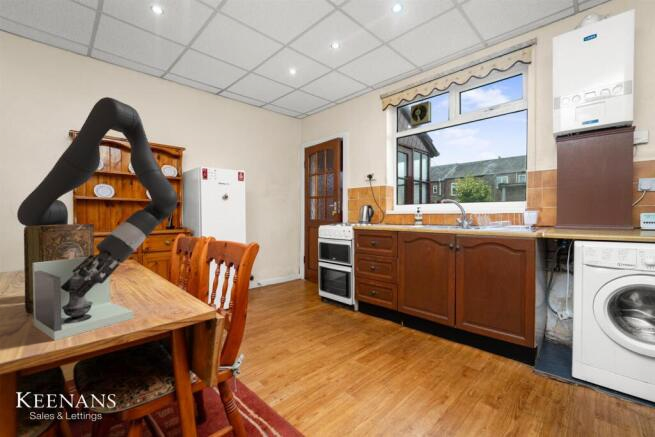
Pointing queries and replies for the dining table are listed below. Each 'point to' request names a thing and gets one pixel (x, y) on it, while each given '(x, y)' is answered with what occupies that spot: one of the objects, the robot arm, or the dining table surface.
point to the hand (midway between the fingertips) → (70, 292)
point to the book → (53, 249)
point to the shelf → (54, 298)
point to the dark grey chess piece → (76, 302)
